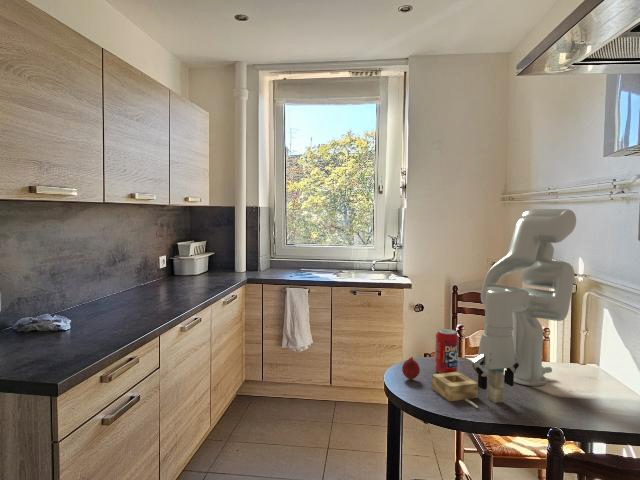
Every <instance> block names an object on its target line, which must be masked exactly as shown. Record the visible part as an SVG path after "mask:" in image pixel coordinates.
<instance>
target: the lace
mask: <svg viewBox="0 0 640 480" xmlns="http://www.w3.org/2000/svg"><path fill="white" fill-rule="evenodd" d="M464 402H467V403H468V404H469V405H471V406H472V407H475V408H476V409H478V408H479V405H477V404H476V403H474V402H473V401H472V400H470V399H467V398H466V399H464Z"/></svg>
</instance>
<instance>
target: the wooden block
mask: <svg viewBox="0 0 640 480" xmlns="http://www.w3.org/2000/svg"><path fill="white" fill-rule="evenodd" d="M430 387H431V389H432V390H433V391H435V392H436V393H438V394H439V395H440V396H441V397H443V398H444V399H446V400H447V401H448V402H455V401H463V400H464V401H465V399H466V398H467V399H468V400H470V399H471V400H472V399H476V398H478V397H479V396H478V394H479V386H478V381H475V380H473V379H471V378H470V377H468V376H466V375H464V374H463V373H461V372H460V371H457V372H451V373H442V374H440V373H434V374H431V386H430Z"/></svg>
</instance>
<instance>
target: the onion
mask: <svg viewBox="0 0 640 480" xmlns="http://www.w3.org/2000/svg"><path fill="white" fill-rule="evenodd" d="M420 371H421V369H420V364H419V363H418V362H417V361H416V360H415V359H414V357H413V356H409V358H408V359H407V360H405V361H403V365H402V371H401V372H402V374H403V375H404V376H405V378H407V379H408V380H409V381H413V380H414V379H415V378H417V377H418V376H419V374H420Z"/></svg>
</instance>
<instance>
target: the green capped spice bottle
mask: <svg viewBox="0 0 640 480" xmlns="http://www.w3.org/2000/svg"><path fill="white" fill-rule="evenodd" d="M504 375H505V368H504V369H495V370H489V371H488V377H487V400H489V401H490V402H493V403H494V404H496V403H503V402H504V384H505V382H504Z"/></svg>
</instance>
